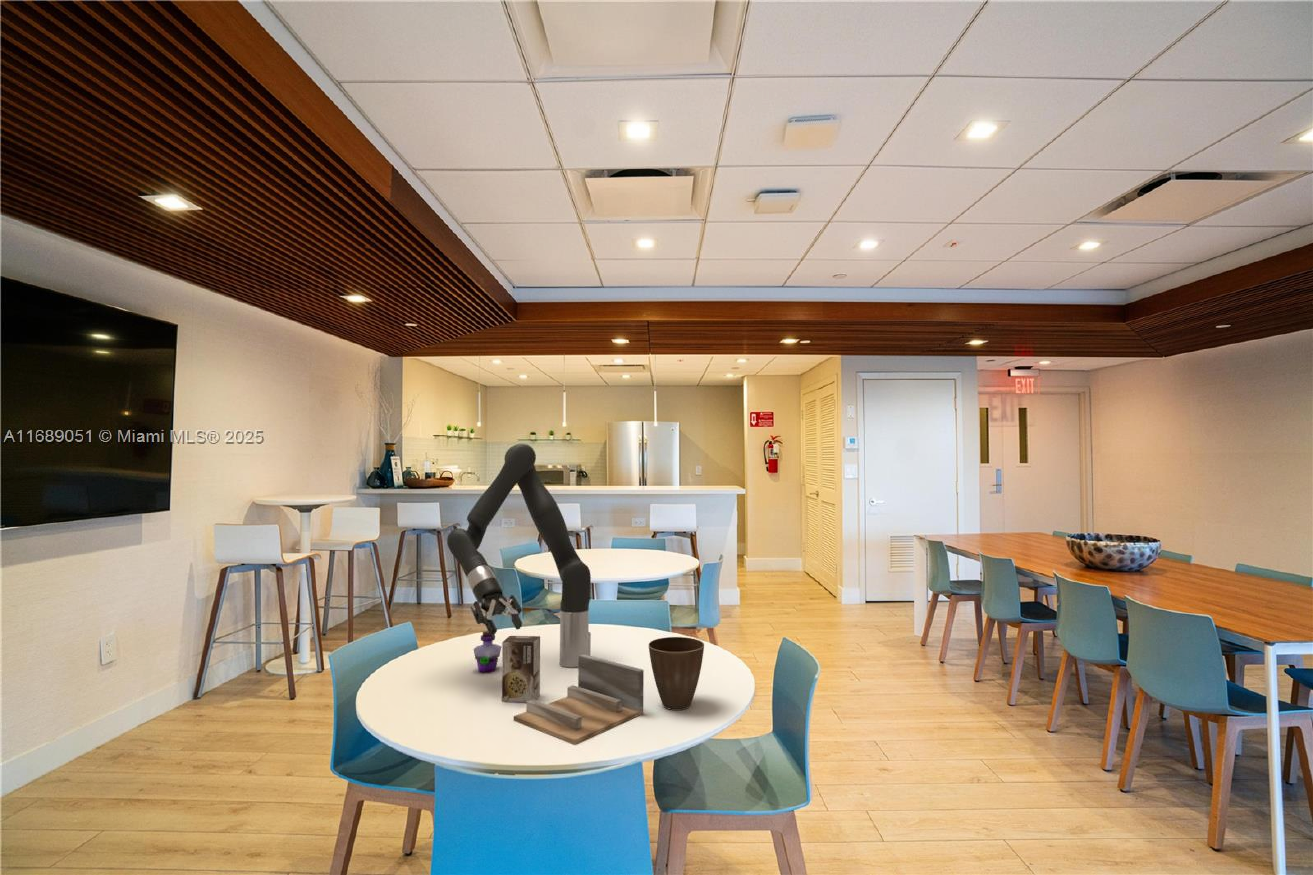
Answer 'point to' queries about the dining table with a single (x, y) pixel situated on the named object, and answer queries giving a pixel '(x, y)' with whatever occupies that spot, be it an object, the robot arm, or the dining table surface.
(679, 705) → the plant pot
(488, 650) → the potion bottle
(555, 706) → the track board
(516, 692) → the coffee box
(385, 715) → the dining table surface
